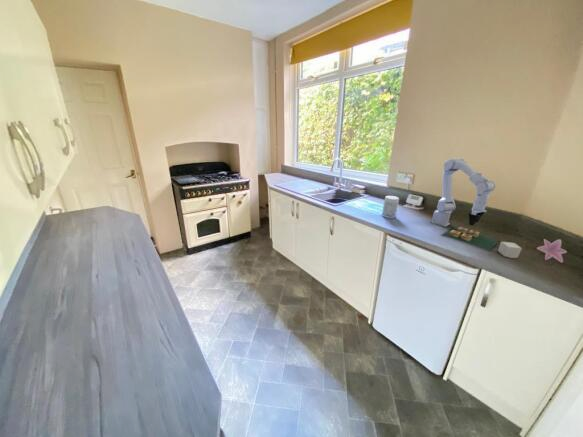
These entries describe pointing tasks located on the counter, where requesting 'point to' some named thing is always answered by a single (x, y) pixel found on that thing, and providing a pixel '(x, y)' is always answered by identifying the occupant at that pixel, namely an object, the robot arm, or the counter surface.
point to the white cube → (509, 249)
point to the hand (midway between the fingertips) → (473, 223)
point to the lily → (552, 250)
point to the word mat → (475, 240)
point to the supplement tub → (390, 206)
